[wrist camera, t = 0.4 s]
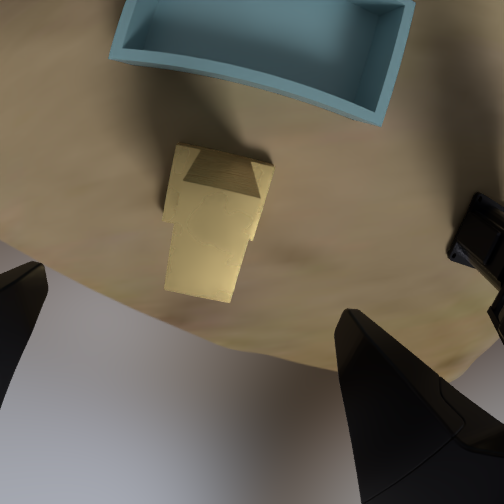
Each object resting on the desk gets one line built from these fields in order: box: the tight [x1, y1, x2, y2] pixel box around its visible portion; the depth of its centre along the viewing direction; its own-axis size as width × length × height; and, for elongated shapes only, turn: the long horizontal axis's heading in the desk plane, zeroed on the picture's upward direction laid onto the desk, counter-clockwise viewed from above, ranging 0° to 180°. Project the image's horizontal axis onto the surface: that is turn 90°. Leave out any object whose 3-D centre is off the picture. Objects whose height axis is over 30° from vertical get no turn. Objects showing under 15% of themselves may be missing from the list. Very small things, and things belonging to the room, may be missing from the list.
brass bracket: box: [162, 142, 275, 303], centre depth 16 cm, size 6×5×8 cm
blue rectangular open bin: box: [108, 0, 416, 127], centre depth 13 cm, size 14×8×4 cm, turn 74°
